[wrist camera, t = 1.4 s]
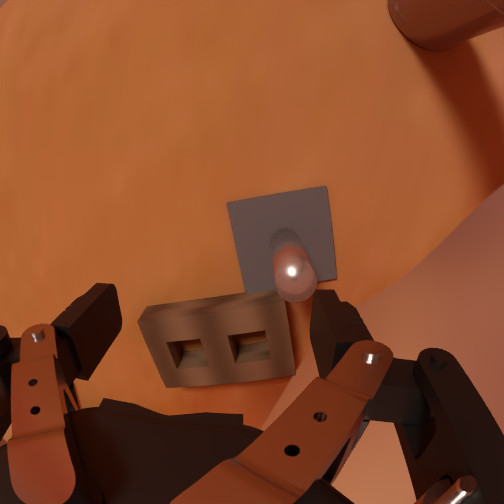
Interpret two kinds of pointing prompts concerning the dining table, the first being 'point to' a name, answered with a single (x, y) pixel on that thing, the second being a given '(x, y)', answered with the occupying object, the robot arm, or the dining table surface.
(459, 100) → the dining table surface
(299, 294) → the pin
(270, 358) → the socket block
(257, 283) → the mat
